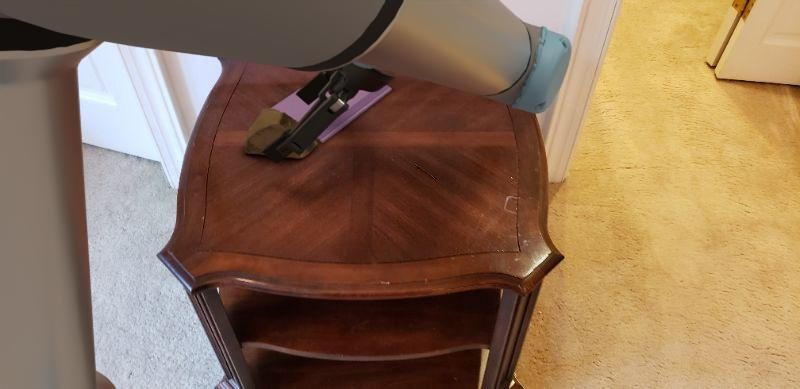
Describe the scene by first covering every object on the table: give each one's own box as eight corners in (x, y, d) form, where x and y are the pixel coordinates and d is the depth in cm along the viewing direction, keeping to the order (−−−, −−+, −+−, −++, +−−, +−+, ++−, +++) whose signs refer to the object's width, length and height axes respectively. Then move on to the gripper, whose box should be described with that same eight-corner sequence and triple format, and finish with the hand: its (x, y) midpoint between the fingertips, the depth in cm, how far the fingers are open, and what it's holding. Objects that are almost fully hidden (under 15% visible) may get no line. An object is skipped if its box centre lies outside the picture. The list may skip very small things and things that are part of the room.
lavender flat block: (322, 143, 90) (322, 140, 90) (268, 112, 96) (267, 109, 95) (391, 90, 100) (391, 87, 99) (338, 64, 105) (338, 61, 105)
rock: (223, 151, 86) (270, 168, 81) (232, 96, 84) (280, 111, 80) (272, 151, 95) (316, 167, 91) (281, 102, 94) (327, 115, 89)
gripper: (375, 135, 64) (276, 200, 77) (419, 23, 80) (331, 92, 94) (327, 92, 61) (232, 167, 74) (383, -16, 77) (297, 62, 91)
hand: (287, 126), depth 84 cm, fingers open, 13 cm apart
